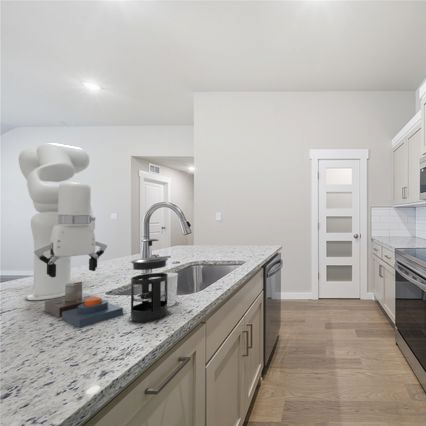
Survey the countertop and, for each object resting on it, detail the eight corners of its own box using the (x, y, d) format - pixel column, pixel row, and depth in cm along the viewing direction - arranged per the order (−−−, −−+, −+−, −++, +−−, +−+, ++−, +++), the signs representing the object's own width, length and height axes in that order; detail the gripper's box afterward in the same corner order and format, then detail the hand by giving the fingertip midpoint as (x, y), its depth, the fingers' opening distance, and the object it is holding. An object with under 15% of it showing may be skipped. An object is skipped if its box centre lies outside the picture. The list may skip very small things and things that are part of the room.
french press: (125, 316, 75) (126, 239, 75) (161, 308, 82) (161, 237, 82) (136, 328, 67) (137, 241, 67) (175, 317, 74) (175, 239, 74)
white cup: (157, 310, 79) (157, 279, 79) (145, 306, 83) (145, 276, 84) (182, 303, 86) (182, 274, 86) (170, 299, 90) (170, 271, 90)
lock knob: (67, 302, 78) (67, 285, 79) (62, 300, 80) (63, 283, 80) (84, 298, 82) (84, 282, 82) (79, 296, 84) (79, 280, 84)
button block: (61, 319, 73) (62, 305, 73) (104, 308, 82) (104, 295, 82) (79, 328, 67) (79, 313, 67) (123, 315, 76) (123, 301, 76)
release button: (82, 305, 74) (82, 299, 74) (98, 302, 77) (98, 296, 77) (88, 307, 72) (88, 301, 72) (103, 304, 75) (103, 298, 75)
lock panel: (44, 310, 80) (44, 300, 80) (85, 301, 88) (85, 292, 88) (59, 318, 74) (59, 307, 74) (101, 307, 83) (101, 297, 83)
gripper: (102, 219, 91) (101, 267, 91) (30, 220, 76) (29, 277, 76) (112, 220, 87) (111, 269, 88) (39, 221, 72) (38, 281, 72)
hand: (73, 273), depth 82 cm, fingers open, 9 cm apart
